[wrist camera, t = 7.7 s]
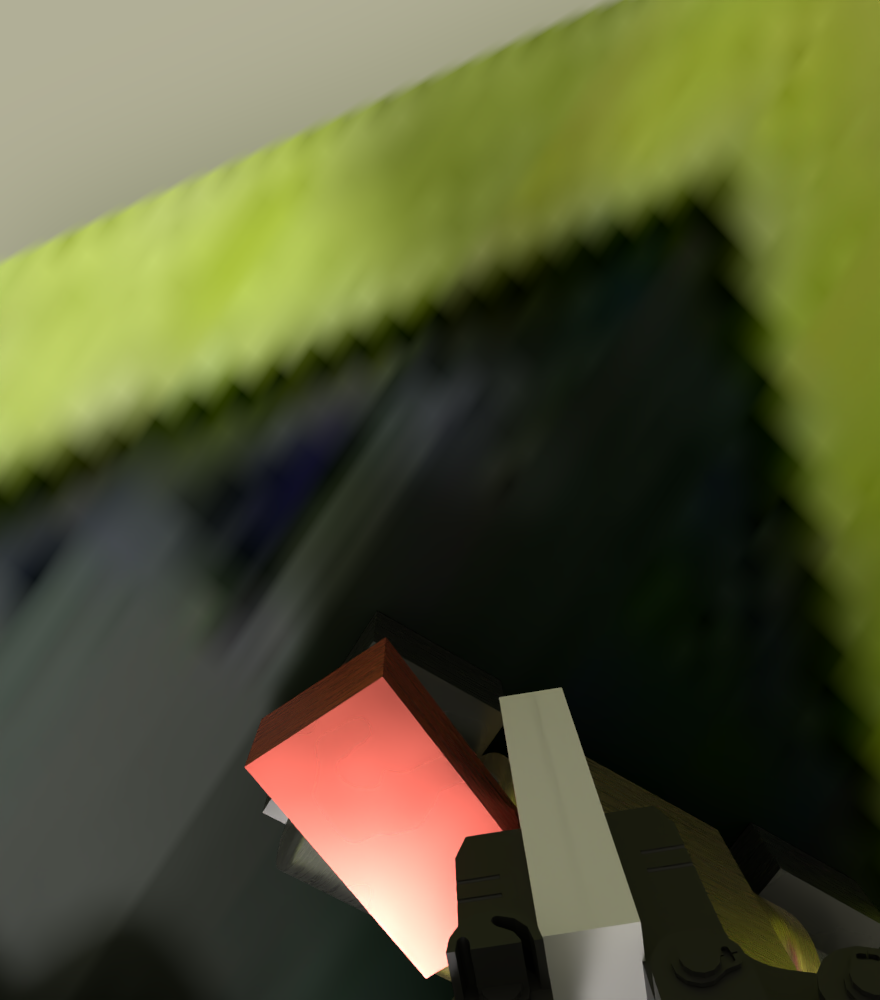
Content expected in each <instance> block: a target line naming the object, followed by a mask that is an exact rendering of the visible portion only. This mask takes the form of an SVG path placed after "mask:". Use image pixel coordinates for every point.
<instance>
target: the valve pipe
mask: <svg viewBox="0 0 880 1000" xmlns="http://www.w3.org/2000/svg"><path fill="white" fill-rule="evenodd" d="M385 637H386V638H387V639H388V640H389V642H390V643H391V644H392V646H393V647H394V648H395V650H396V651H397V652H398V653H399V655H400V656H401V657H402V659H403V660H404V661H405V663H406V664H407V665H408V666H409V668H410V669H411V670H412V672H413V673H414V674H415V676H416V677H417V678H418V679H419V681H420V682H421V683H422V685H423V686H424V687H425V689H426V690H427V691H428V692H429V694H430V695H431V696H432V698H433V699H434V700H435V702H436V703H437V704H438V705H439V707H440V708H441V709H442V711H443V712H444V713H445V715H446V716H447V717H448V719H449V720H450V721H451V722H452V724H453V725H454V726H455V728H456V729H457V730H458V732H459V733H460V734H461V735H462V737H463V738H464V739H465V741H466V742H467V743H468V745H469V746H470V747H471V748H472V750H473V751H474V752H475V754H476V755H477V756H478V758H479V759H480V760H481V761H482V763H483V764H484V765H485V767H486V768H487V769H488V771H489V772H490V773H491V775H492V776H493V777H494V778H495V780H496V781H497V782H498V784H499V785H500V786H501V788H502V789H503V790H504V791H505V793H506V794H507V795H508V797H509V798H510V799H511V801H512V802H513V803H514V804H515V806H516V807H517V804H516V798H515V792H514V786H513V780H512V774H511V768H510V762H509V758H507V757H505V756H503V755H502V754H499V753H488V754H486V755H484V756H482V754H483V753H484V751H485V750H486V749H487V747H488V746H489V744H490V743H491V742H492V740H493V739H494V737H495V736H496V734H497V733H498V732H499V730H500V729H501V727H502V726H503V719H502V713H501V707H500V701H499V697H504V693H503V688H502V684H501V681H500V680H499V679H497V678H495V677H493V676H492V675H490V674H488V673H486V672H485V671H483V670H481V669H479V668H477V667H476V666H474V665H472V664H470V663H469V662H467V661H465V660H463V659H462V658H460V657H458V656H456V655H454V654H453V653H451V652H449V651H447V650H446V649H444V648H442V647H440V646H439V645H437V644H435V643H433V642H431V641H430V640H428V639H426V638H424V637H423V636H421V635H419V634H417V633H416V632H414V631H412V630H410V629H408V628H407V627H405V626H403V625H401V624H400V623H398V622H396V621H394V620H392V619H391V618H389V617H387V616H385V615H384V614H382V613H380V612H378V611H376V613H375V614H374V616H373V617H372V619H371V621H370V622H369V624H368V625H367V627H366V628H365V630H364V631H363V633H362V635H361V636H360V638H359V639H358V641H357V642H356V644H355V645H354V647H353V649H352V650H351V652H350V653H349V655H348V656H347V658H346V660H345V661H344V663H343V664H342V666H343V665H344V664H346V663H347V662H349V661H350V660H352V659H353V658H355V657H356V656H358V655H359V654H361V653H363V652H364V651H366V650H367V649H369V648H370V647H372V646H373V645H375V644H376V643H378V642H379V641H381V640H382V639H384V638H385ZM481 756H482V757H481ZM585 758H586V761H587V764H588V767H589V770H590V773H591V776H592V779H593V782H594V785H595V788H596V791H597V794H598V797H599V800H600V803H601V806H602V809H603V812H604V813H609V812H616V811H622V810H629V809H635V808H642V807H648V806H655V807H656V808H657V809H658V810H660V811H661V812H662V813H663V814H665V815H666V816H667V817H668V818H669V819H671V820H672V821H673V822H674V823H675V825H676V828H677V830H678V832H679V834H680V836H681V838H682V840H683V843H684V846H685V848H686V849H687V851H688V853H689V856H690V858H691V860H692V863H693V866H695V869H696V871H697V873H698V875H699V877H700V879H701V882H702V884H703V886H704V888H705V890H706V892H707V895H708V897H709V899H710V901H711V903H712V905H713V907H714V910H715V912H716V914H717V916H718V918H719V920H720V923H721V925H722V927H723V929H724V931H725V933H726V934H727V936H728V937H729V939H731V940H732V941H734V942H735V943H737V944H738V945H739V946H740V947H741V949H742V950H743V951H744V953H745V954H747V955H748V956H750V957H751V958H753V959H754V960H757V961H759V962H762V963H764V964H767V965H769V966H773V967H778V968H782V969H787V970H795V971H803V972H811V973H817V971H818V969H819V967H820V965H821V962H822V960H823V958H825V957H826V956H828V955H829V954H831V953H832V952H834V951H835V950H837V949H842V948H847V947H853V946H861V947H870V948H879V947H880V913H879V912H878V910H877V909H876V908H875V906H874V905H873V904H872V902H871V901H870V900H869V898H868V897H867V896H866V894H865V893H864V892H863V890H862V889H861V888H860V886H859V885H858V884H857V882H856V881H855V880H853V879H851V878H849V877H847V876H846V875H844V874H842V873H840V872H839V871H837V870H835V869H833V868H832V867H830V866H828V865H826V864H824V863H823V862H821V861H819V860H817V859H816V858H814V857H812V856H810V855H809V854H807V853H805V852H803V851H801V850H800V849H798V848H796V847H794V846H793V845H791V844H789V843H787V842H785V841H784V840H782V839H780V838H778V837H777V836H775V835H773V834H771V833H770V832H768V831H766V830H764V829H762V828H761V827H759V826H757V825H755V824H754V823H752V822H751V823H750V824H749V825H748V826H747V828H746V829H745V830H744V831H743V833H742V834H741V835H740V836H739V838H738V839H737V840H736V841H735V843H734V844H733V845H732V846H731V848H730V849H728V847H727V846H726V844H725V842H724V840H723V839H722V837H721V835H720V833H719V832H718V830H717V829H715V828H713V827H711V826H710V825H708V824H706V823H704V822H703V821H701V820H699V819H697V818H695V817H694V816H692V815H690V814H688V813H686V812H685V811H683V810H681V809H679V808H677V807H676V806H674V805H672V804H670V803H669V802H667V801H665V800H663V799H661V798H660V797H658V796H656V795H654V794H652V793H651V792H649V791H647V790H645V789H643V788H642V787H640V786H638V785H636V784H635V783H633V782H631V781H629V780H627V779H626V778H624V777H622V776H620V775H618V774H617V773H615V772H613V771H611V770H609V769H608V768H606V767H604V766H602V765H600V764H599V763H597V762H595V761H593V760H592V759H590V758H588V757H586V756H585ZM262 813H264V814H266V815H268V816H270V817H272V818H274V819H276V820H278V821H280V822H282V823H284V824H286V825H285V828H284V831H283V834H282V837H281V840H280V844H279V847H278V852H277V859H276V865H277V868H278V869H279V870H281V871H283V872H285V873H287V874H289V875H291V876H293V877H295V878H297V879H299V880H301V881H303V882H305V883H307V884H309V885H311V886H313V887H315V888H317V889H319V890H321V891H323V892H325V893H327V894H329V895H331V896H333V897H335V898H337V899H339V900H341V901H343V902H345V903H347V904H349V905H351V906H353V907H355V908H357V909H359V910H361V911H363V912H365V913H367V914H369V915H371V914H370V913H369V912H368V910H367V909H366V908H365V907H364V906H363V905H362V903H361V902H360V901H359V900H358V899H357V898H356V896H355V895H354V894H353V893H352V892H351V891H350V889H349V888H348V887H347V886H346V885H345V884H344V882H343V881H342V880H341V879H340V878H339V877H338V875H337V874H336V873H335V872H334V871H333V870H332V868H331V867H330V866H329V865H328V864H327V863H326V861H325V860H324V859H323V858H322V857H321V856H320V854H319V853H318V852H317V851H316V850H315V849H314V847H313V846H312V845H311V844H310V843H309V842H308V840H307V839H306V838H305V837H304V836H303V835H302V833H301V832H300V831H299V830H298V829H297V828H296V826H295V825H294V824H293V823H292V822H291V821H290V819H289V818H288V817H287V816H286V815H285V814H284V812H283V811H282V810H281V809H280V808H279V807H278V805H277V804H276V803H275V802H274V801H273V800H272V798H271V797H270V796H269V795H267V799H266V802H265V805H264V809H263V812H262ZM371 916H372V915H371ZM403 953H404V952H403ZM404 955H405V954H404ZM405 957H406V958H407V959H408V960H409V961H410V959H409V958H408V957H407V956H406V955H405ZM410 962H411V961H410ZM435 974H437V975H439V976H441V977H443V978H445V979H447V980H449V981H451V977H450V972H449V967H448V966H446V967H445V968H443V969H441V970H440V971H438V972H436V973H435Z"/></svg>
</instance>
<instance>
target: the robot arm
mask: <svg viewBox="0 0 880 1000" xmlns="http://www.w3.org/2000/svg"><path fill="white" fill-rule="evenodd" d="M499 701H500V707H501V713H502V719H503V725H504V731H505V737H506V743H507V750H508V756H509V762H510V768H511V774H512V780H513V786H514V792H515V798H516V804H517V810H518V816H519V822H520V828H519V829H513V830H506V831H500V832H493V833H487V834H480V835H474V836H467V837H465V839H464V841H463V843H462V845H461V847H460V849H459V851H458V853H457V855H456V857H455V869H456V884H457V885H456V891H457V914H458V927H457V928H456V929H455V931H454V932H453V933H452V935H451V936H450V938H449V941H448V945H447V950H446V957H447V962H448V967H449V972H450V977H451V982H452V987H453V992H454V997H453V999H452V1000H880V949H878V948H870V947H861V946H853V947H847V948H842V949H837V950H835V951H834V952H832V953H831V954H829V955H828V956H826V957H825V958H823V960H822V962H821V965H820V967H819V969H818V971H817V973H811V972H803V971H795V970H787V969H782V968H778V967H773V966H769V965H767V964H764V963H762V962H759V961H757V960H754V959H753V958H751V957H750V956H748V955H747V954H745V953H744V951H743V950H742V949H741V947H740V946H739V945H738V944H737V943H735V942H734V941H732V940H731V939H729V937H728V936H727V934H726V933H725V931H724V929H723V927H722V925H721V923H720V920H719V918H718V916H717V914H716V912H715V910H714V907H713V905H712V903H711V901H710V899H709V897H708V895H707V892H706V890H705V888H704V886H703V884H702V882H701V879H700V877H699V875H698V873H697V871H696V869H695V866H693V863H692V860H691V858H690V856H689V853H688V851H687V849H686V848H685V846H684V843H683V840H682V838H681V836H680V834H679V832H678V830H677V828H676V825H675V823H674V822H673V821H672V820H671V819H669V818H668V817H667V816H666V815H665V814H663V813H662V812H661V811H660V810H658V809H657V808H656V807H655V806H648V807H642V808H635V809H629V810H622V811H616V812H609V813H604V812H603V809H602V806H601V803H600V800H599V797H598V794H597V791H596V788H595V785H594V782H593V779H592V776H591V773H590V770H589V767H588V764H587V761H586V758H585V755H584V752H583V749H582V746H581V743H580V740H579V737H578V734H577V731H576V728H575V726H574V723H573V720H572V717H571V714H570V711H569V708H568V705H567V702H566V699H565V696H564V693H563V690H562V687H561V688H554V689H548V690H542V691H536V692H529V693H523V694H517V695H511V696H504V697H499Z"/></svg>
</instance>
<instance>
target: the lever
mask: <svg viewBox="0 0 880 1000" xmlns="http://www.w3.org/2000/svg"><path fill="white" fill-rule="evenodd" d="M245 768H246V769H247V770H248V772H249V773H250V774H251V775H252V776H253V777H254V779H255V780H256V781H257V782H258V783H259V784H260V786H261V787H262V788H263V789H264V790H265V791H266V793H267V794H268V795H269V796H270V797H271V798H272V800H273V801H274V802H275V803H276V804H277V805H278V807H279V808H280V809H281V810H282V811H283V812H284V814H285V815H286V816H287V817H288V818H289V819H290V821H291V822H292V823H293V824H294V825H295V826H296V828H297V829H298V830H299V831H300V832H301V833H302V835H303V836H304V837H305V838H306V839H307V840H308V842H309V843H310V844H311V845H312V846H313V847H314V849H315V850H316V851H317V852H318V853H319V854H320V856H321V857H322V858H323V859H324V860H325V861H326V863H327V864H328V865H329V866H330V867H331V868H332V870H333V871H334V872H335V873H336V874H337V875H338V877H339V878H340V879H341V880H342V881H343V882H344V884H345V885H346V886H347V887H348V888H349V889H350V891H351V892H352V893H353V894H354V895H355V896H356V898H357V899H358V900H359V901H360V902H361V903H362V905H363V906H364V907H365V908H366V909H367V910H368V912H369V913H370V914H371V915H372V916H373V917H374V919H375V920H376V921H377V922H378V923H379V924H380V926H381V927H382V928H383V929H384V930H385V931H386V933H387V934H388V935H389V936H390V937H391V938H392V940H393V941H394V942H395V943H396V944H397V945H398V947H399V948H400V949H401V950H402V951H403V952H404V954H405V955H406V956H407V957H408V958H409V959H410V961H411V962H412V963H413V964H414V965H415V966H416V968H417V969H418V970H419V971H420V972H421V973H422V975H423V976H424V977H425V978H428V977H430V976H431V975H433V974H435V973H436V972H438V971H440V970H441V969H443V968H445V967H446V966H448V962H447V957H446V950H447V945H448V941H449V938H450V936H451V935H452V933H453V932H454V931H455V929H456V928H457V927H458V914H457V891H456V885H457V884H456V869H455V857H456V855H457V853H458V851H459V849H460V847H461V845H462V843H463V841H464V839H465V837H467V836H474V835H480V834H487V833H493V832H500V831H506V830H513V829H519V828H520V822H519V816H518V810H517V807H516V806H515V804H514V803H513V802H512V801H511V799H510V798H509V797H508V795H507V794H506V793H505V791H504V790H503V789H502V788H501V786H500V785H499V784H498V782H497V781H496V780H495V778H494V777H493V776H492V775H491V773H490V772H489V771H488V769H487V768H486V767H485V765H484V764H483V763H482V761H481V760H480V759H479V758H478V756H477V755H476V754H475V752H474V751H473V750H472V748H471V747H470V746H469V745H468V743H467V742H466V741H465V739H464V738H463V737H462V735H461V734H460V733H459V732H458V730H457V729H456V728H455V726H454V725H453V724H452V722H451V721H450V720H449V719H448V717H447V716H446V715H445V713H444V712H443V711H442V709H441V708H440V707H439V705H438V704H437V703H436V702H435V700H434V699H433V698H432V696H431V695H430V694H429V692H428V691H427V690H426V689H425V687H424V686H423V685H422V683H421V682H420V681H419V679H418V678H417V677H416V676H415V674H414V673H413V672H412V670H411V669H410V668H409V666H408V665H407V664H406V663H405V661H404V660H403V659H402V657H401V656H400V655H399V653H398V652H397V651H396V650H395V648H394V647H393V646H392V644H391V643H390V642H389V640H388V639H387V638H386V637H385V638H384V639H382V640H381V641H379V642H378V643H376V644H375V645H373V646H372V647H370V648H369V649H367V650H366V651H364V652H363V653H361V654H359V655H358V656H356V657H355V658H353V659H352V660H350V661H349V662H347V663H346V664H344V665H343V666H341V667H340V668H338V669H337V670H335V671H334V672H332V673H331V674H329V675H328V676H326V677H325V678H323V679H322V680H320V681H319V682H317V683H315V684H314V685H312V686H311V687H309V688H308V689H306V690H305V691H303V692H302V693H300V694H299V695H297V696H296V697H294V698H293V699H291V700H290V701H288V702H287V703H285V704H284V705H282V706H281V707H279V708H278V709H276V710H275V711H273V712H272V713H270V714H268V715H267V716H265V717H264V718H262V720H261V723H260V725H259V728H258V731H257V734H256V737H255V739H254V742H253V745H252V748H251V750H250V753H249V756H248V759H247V761H246V764H245Z"/></svg>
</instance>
